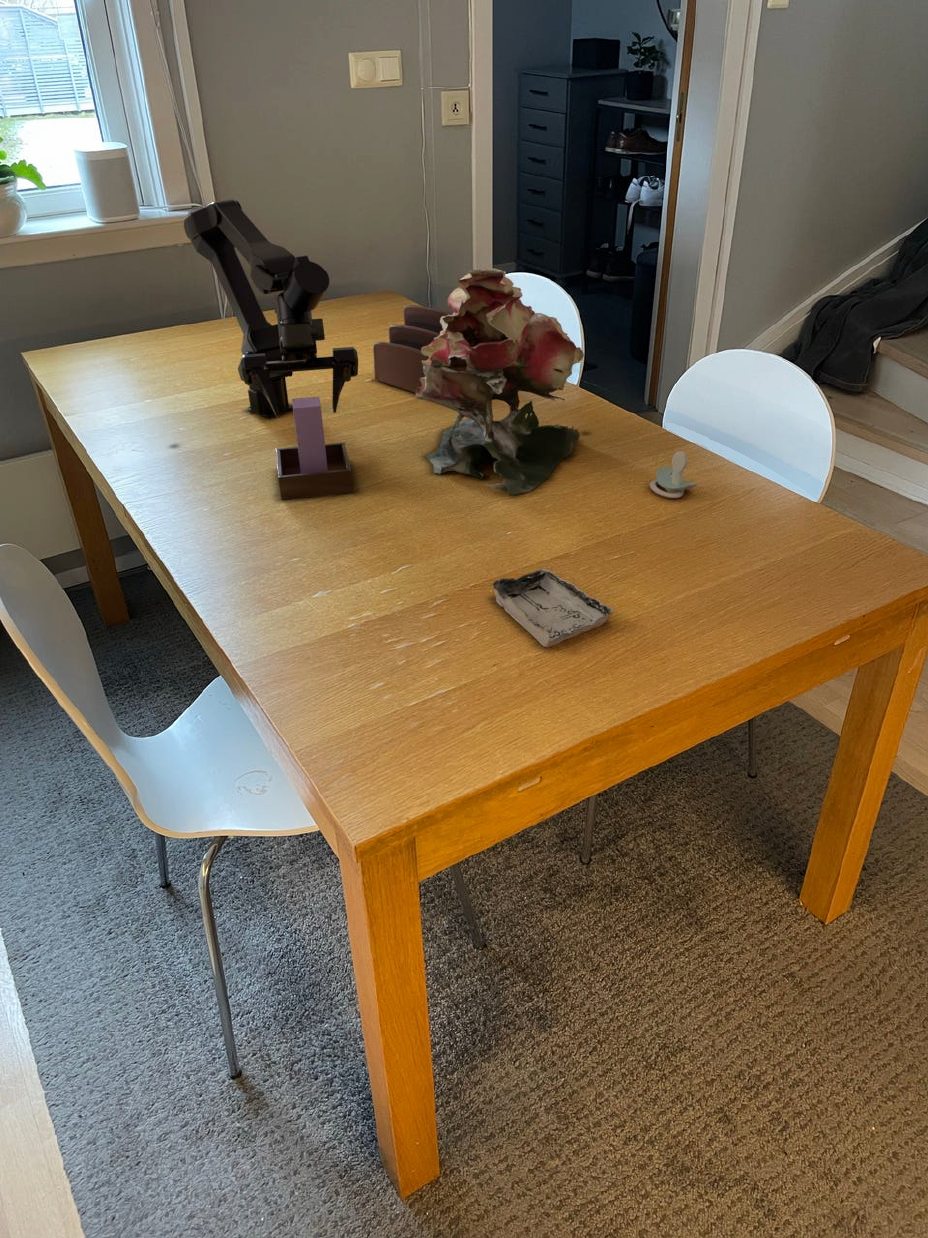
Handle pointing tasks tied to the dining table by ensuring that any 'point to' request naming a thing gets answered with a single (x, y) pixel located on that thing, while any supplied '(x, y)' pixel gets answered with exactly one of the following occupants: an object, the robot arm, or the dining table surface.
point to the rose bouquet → (498, 382)
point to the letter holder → (407, 347)
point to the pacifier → (675, 482)
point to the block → (310, 434)
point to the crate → (314, 474)
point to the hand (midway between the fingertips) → (306, 414)
